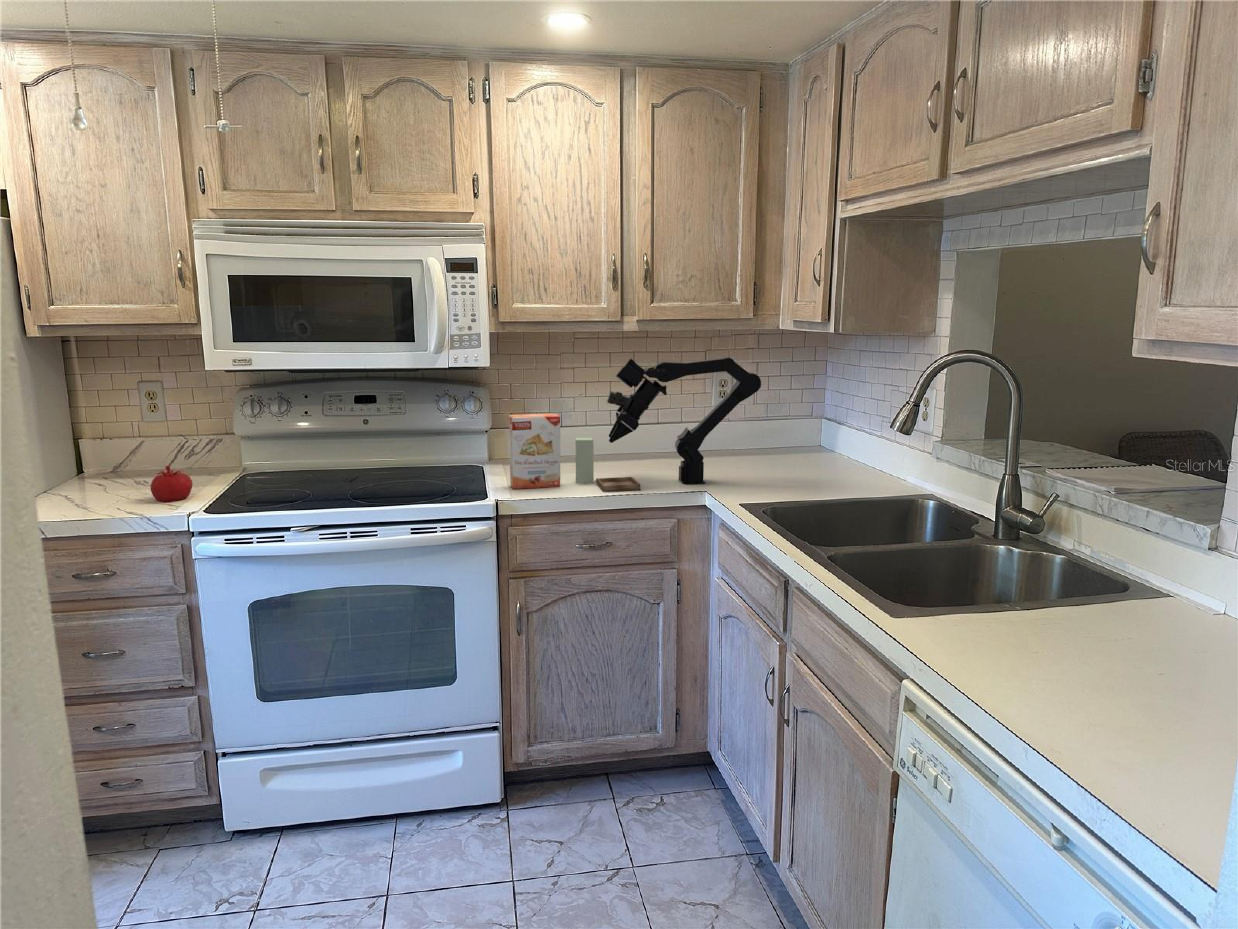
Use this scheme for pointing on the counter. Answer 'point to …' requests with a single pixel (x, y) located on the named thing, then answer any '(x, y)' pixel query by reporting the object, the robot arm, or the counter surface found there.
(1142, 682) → the counter surface
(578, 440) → the sage wooden block
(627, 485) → the walnut tray
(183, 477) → the red tomato
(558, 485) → the cracker box
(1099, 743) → the counter surface
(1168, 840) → the counter surface
